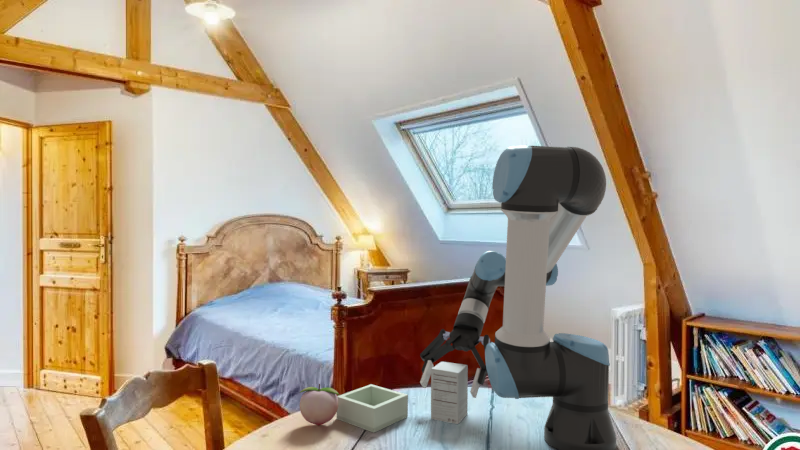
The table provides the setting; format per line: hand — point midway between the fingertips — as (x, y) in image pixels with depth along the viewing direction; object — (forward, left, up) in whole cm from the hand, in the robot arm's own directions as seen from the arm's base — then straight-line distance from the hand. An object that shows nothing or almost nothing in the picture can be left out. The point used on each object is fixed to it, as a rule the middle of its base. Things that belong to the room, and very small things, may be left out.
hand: (447, 390), depth 127 cm
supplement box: (0, -1, -7) cm, 7 cm away
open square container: (+14, +12, -7) cm, 20 cm away
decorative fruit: (+20, +24, -7) cm, 32 cm away
